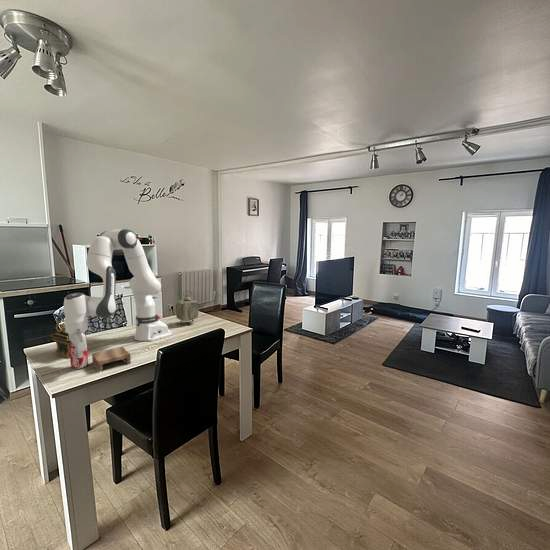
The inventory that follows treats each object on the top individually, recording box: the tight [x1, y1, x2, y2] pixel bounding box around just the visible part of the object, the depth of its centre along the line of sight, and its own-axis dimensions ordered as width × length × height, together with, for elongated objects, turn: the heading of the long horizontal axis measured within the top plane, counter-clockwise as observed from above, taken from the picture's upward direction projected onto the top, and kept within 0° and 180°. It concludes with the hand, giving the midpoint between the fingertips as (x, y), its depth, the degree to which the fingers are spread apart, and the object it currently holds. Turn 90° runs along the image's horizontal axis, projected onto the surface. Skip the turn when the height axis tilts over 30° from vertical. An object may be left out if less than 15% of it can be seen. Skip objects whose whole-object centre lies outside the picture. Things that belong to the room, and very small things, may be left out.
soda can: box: [69, 343, 89, 370], centre depth 139 cm, size 7×7×12 cm
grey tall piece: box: [175, 290, 200, 326], centre depth 210 cm, size 14×9×25 cm, turn 136°
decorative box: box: [49, 318, 87, 359], centre depth 154 cm, size 20×10×20 cm, turn 65°
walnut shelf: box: [91, 346, 131, 373], centre depth 144 cm, size 14×13×5 cm
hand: (78, 354), depth 138 cm, fingers closed on soda can, 7 cm apart
